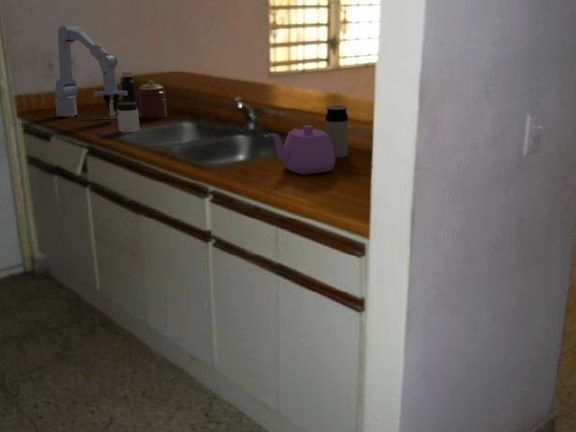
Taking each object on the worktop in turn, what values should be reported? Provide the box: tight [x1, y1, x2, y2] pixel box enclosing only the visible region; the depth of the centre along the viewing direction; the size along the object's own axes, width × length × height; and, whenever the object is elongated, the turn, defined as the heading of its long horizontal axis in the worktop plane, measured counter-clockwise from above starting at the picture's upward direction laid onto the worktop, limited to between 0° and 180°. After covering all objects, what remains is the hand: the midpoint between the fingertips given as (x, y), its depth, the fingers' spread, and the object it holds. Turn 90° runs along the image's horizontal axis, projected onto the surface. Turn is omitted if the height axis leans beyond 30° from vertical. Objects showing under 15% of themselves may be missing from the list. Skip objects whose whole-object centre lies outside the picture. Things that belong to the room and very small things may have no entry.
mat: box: [101, 114, 118, 120], centre depth 328 cm, size 18×14×1 cm
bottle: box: [120, 71, 138, 104], centre depth 336 cm, size 7×7×20 cm
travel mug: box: [325, 104, 349, 159], centre depth 245 cm, size 8×8×18 cm
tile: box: [109, 100, 117, 117], centre depth 315 cm, size 2×8×6 cm, turn 8°
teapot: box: [267, 124, 336, 176], centre depth 227 cm, size 23×21×15 cm
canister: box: [137, 79, 168, 120], centre depth 324 cm, size 13×13×18 cm
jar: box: [116, 101, 141, 134], centre depth 294 cm, size 9×8×12 cm
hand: (112, 111), depth 316 cm, fingers closed on tile, 2 cm apart
